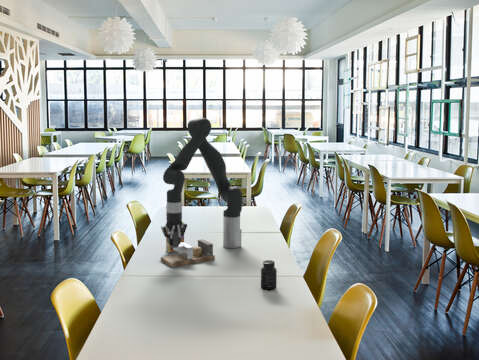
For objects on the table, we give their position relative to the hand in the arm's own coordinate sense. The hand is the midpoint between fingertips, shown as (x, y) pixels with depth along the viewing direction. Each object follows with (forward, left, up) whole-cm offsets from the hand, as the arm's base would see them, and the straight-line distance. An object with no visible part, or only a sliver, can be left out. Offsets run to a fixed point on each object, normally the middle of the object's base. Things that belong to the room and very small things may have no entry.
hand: (174, 244), depth 254 cm
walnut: (-13, 0, -7) cm, 15 cm away
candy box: (-10, -18, -9) cm, 22 cm away
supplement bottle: (-18, +52, -9) cm, 56 cm away
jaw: (-3, 0, -7) cm, 8 cm away
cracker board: (-8, 0, -9) cm, 12 cm away
